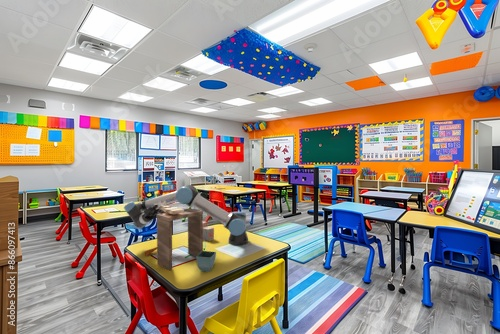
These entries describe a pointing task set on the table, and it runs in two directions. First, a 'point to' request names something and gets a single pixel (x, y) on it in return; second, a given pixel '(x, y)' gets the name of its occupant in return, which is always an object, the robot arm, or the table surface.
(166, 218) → the shelf
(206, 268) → the flower pot
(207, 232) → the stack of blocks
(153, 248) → the kendama
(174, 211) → the salad server
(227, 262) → the table surface
